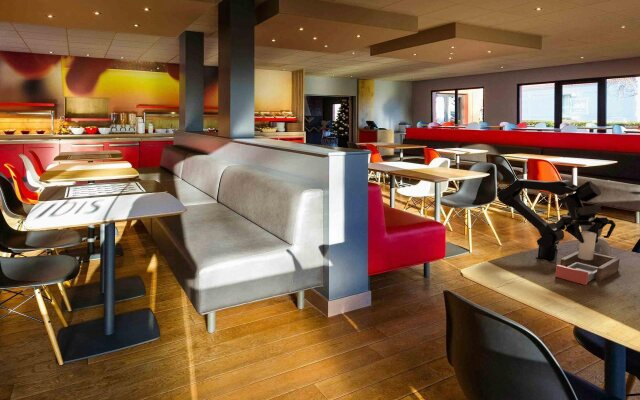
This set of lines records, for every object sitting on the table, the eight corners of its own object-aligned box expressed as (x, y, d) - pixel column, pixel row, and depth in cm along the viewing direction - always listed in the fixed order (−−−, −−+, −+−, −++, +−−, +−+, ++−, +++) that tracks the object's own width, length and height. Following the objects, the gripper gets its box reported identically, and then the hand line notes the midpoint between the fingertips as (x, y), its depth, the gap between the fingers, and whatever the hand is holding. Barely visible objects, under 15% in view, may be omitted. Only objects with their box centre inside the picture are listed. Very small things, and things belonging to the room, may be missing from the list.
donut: (610, 262, 191) (613, 239, 189) (607, 263, 189) (610, 240, 187) (584, 256, 199) (587, 234, 197) (581, 257, 196) (584, 235, 194)
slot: (559, 270, 180) (561, 258, 179) (578, 261, 192) (580, 249, 191) (600, 281, 169) (601, 268, 168) (618, 270, 181) (619, 258, 180)
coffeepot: (573, 253, 201) (578, 214, 198) (570, 247, 210) (575, 210, 206) (614, 258, 196) (619, 217, 193) (608, 251, 205) (614, 212, 201)
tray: (555, 276, 174) (556, 265, 173) (573, 267, 184) (575, 256, 183) (585, 284, 165) (587, 273, 165) (603, 274, 176) (604, 263, 175)
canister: (575, 257, 177) (578, 232, 174) (580, 254, 180) (584, 230, 178) (589, 260, 173) (593, 235, 171) (595, 258, 176) (598, 233, 174)
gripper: (563, 197, 174) (577, 232, 166) (609, 196, 176) (626, 232, 167) (549, 212, 184) (562, 246, 175) (593, 211, 185) (608, 245, 177)
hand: (589, 242), depth 173 cm, fingers closed on canister, 5 cm apart
